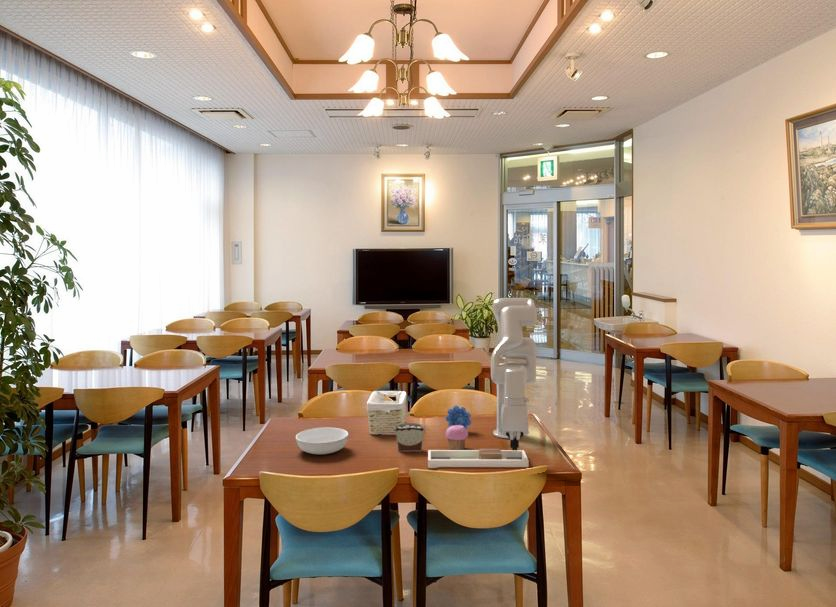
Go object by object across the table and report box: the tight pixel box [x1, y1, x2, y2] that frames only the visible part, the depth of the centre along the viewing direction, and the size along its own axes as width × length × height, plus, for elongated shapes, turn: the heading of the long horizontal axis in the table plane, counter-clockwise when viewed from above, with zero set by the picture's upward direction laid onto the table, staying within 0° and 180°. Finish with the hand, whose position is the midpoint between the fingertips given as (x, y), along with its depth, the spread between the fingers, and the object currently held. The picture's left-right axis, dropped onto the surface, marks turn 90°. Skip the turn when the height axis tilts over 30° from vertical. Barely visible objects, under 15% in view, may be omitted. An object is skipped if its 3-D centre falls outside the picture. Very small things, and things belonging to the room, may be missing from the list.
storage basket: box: [366, 390, 407, 436], centre depth 290 cm, size 24×16×15 cm
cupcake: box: [445, 425, 469, 450], centre depth 258 cm, size 9×9×10 cm
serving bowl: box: [295, 426, 349, 456], centre depth 258 cm, size 21×21×7 cm
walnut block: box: [478, 448, 502, 459], centre depth 242 cm, size 6×8×4 cm
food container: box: [394, 422, 426, 452], centre depth 260 cm, size 12×6×10 cm, turn 92°
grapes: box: [445, 405, 472, 431], centre depth 282 cm, size 12×7×12 cm, turn 102°
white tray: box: [427, 449, 530, 469], centre depth 243 cm, size 12×37×3 cm, turn 89°
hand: (514, 449), depth 241 cm, fingers closed
